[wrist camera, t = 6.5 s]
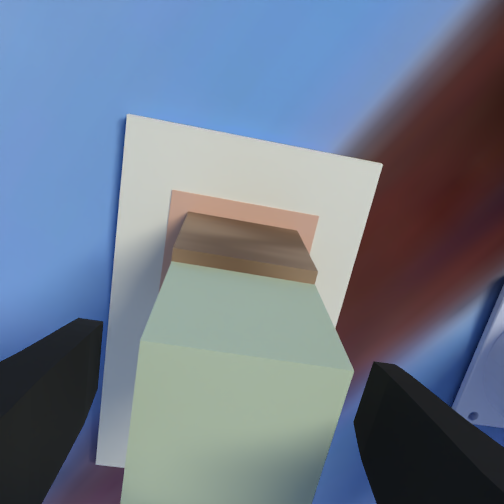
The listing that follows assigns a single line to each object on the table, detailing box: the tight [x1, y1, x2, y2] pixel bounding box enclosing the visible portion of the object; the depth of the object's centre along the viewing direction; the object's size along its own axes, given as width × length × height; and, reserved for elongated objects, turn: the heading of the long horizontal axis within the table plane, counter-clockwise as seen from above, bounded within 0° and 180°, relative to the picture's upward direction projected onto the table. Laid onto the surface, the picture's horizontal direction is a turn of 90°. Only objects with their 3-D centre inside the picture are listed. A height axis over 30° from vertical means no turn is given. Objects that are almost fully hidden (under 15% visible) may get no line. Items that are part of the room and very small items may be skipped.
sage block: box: [120, 261, 354, 504], centre depth 11 cm, size 4×4×4 cm
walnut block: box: [171, 211, 318, 285], centre depth 16 cm, size 4×4×4 cm
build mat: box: [96, 114, 383, 468], centre depth 19 cm, size 10×17×1 cm, turn 169°
